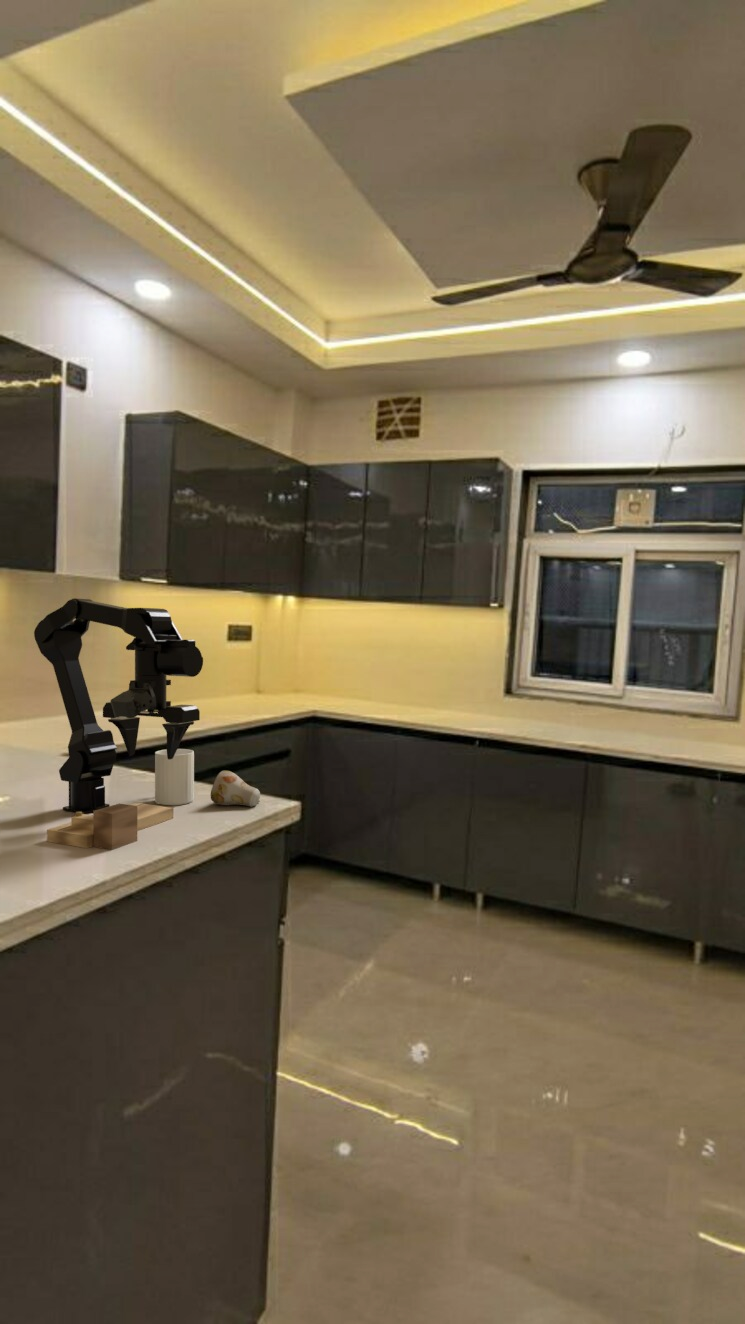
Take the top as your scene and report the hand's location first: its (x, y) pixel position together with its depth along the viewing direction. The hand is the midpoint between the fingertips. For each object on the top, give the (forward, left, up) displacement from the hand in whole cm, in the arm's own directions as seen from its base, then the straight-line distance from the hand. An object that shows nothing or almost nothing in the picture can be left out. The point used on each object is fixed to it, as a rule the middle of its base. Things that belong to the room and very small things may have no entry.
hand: (150, 757), depth 141 cm
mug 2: (-7, +16, -12) cm, 21 cm away
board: (-2, -8, -12) cm, 14 cm away
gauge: (+2, -15, -12) cm, 19 cm away
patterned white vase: (+7, +18, -12) cm, 23 cm away
